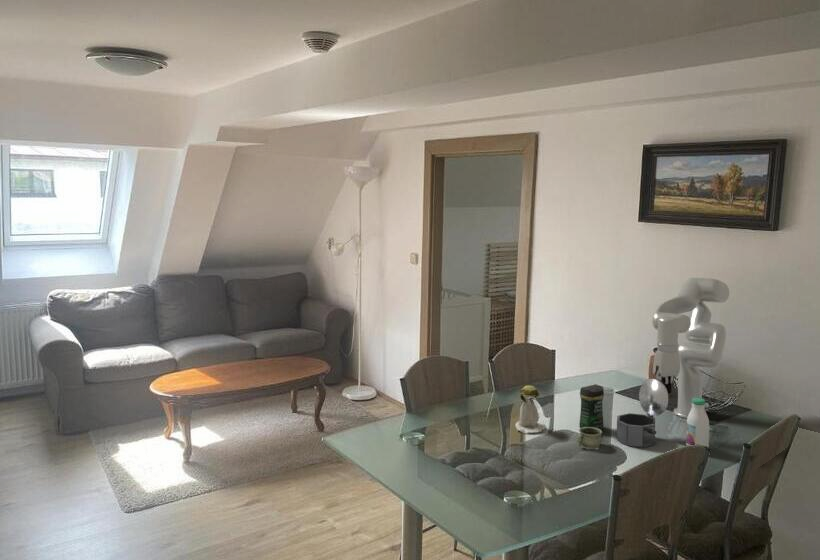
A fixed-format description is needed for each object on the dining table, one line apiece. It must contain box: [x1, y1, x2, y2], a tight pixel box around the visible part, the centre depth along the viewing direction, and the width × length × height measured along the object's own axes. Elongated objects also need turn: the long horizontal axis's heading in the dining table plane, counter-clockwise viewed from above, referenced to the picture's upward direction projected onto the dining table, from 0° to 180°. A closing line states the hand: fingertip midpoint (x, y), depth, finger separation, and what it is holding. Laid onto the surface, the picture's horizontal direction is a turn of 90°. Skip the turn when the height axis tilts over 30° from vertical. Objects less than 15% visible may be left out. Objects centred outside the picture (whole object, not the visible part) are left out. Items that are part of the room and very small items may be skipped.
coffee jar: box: [578, 383, 605, 431], centre depth 259 cm, size 10×8×19 cm
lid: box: [638, 378, 669, 417], centre depth 248 cm, size 15×14×2 cm
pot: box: [616, 412, 657, 448], centre depth 246 cm, size 15×20×8 cm
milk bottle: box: [685, 398, 710, 448], centre depth 234 cm, size 8×8×20 cm
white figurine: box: [515, 385, 547, 434], centre depth 262 cm, size 12×13×18 cm
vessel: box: [577, 427, 604, 450], centre depth 242 cm, size 12×9×6 cm
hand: (666, 392), depth 250 cm, fingers closed
